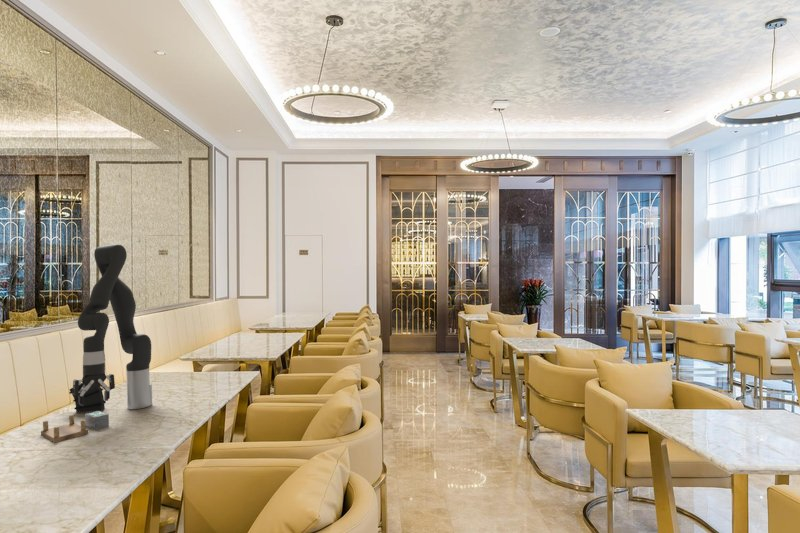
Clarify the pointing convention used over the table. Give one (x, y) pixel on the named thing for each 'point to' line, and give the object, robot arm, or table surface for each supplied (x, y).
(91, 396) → the black ribbed wedge
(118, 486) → the table surface
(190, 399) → the table surface
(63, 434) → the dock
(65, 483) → the table surface
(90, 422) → the grey rectangular block
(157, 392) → the table surface
